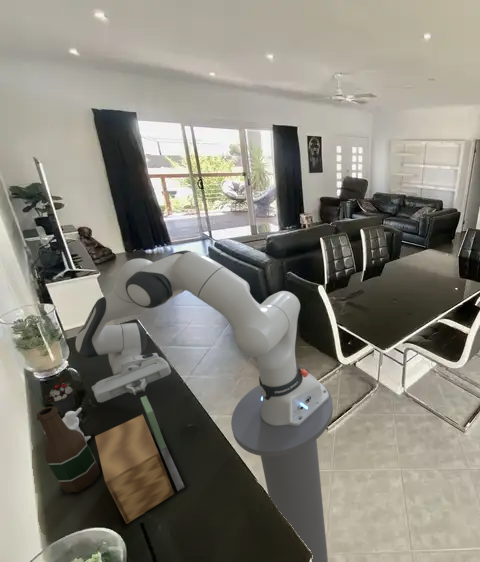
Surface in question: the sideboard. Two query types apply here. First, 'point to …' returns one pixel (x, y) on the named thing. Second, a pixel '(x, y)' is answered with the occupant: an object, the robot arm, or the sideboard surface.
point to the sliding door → (153, 422)
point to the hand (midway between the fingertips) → (139, 391)
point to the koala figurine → (73, 422)
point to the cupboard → (135, 468)
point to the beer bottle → (67, 452)
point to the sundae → (62, 398)
